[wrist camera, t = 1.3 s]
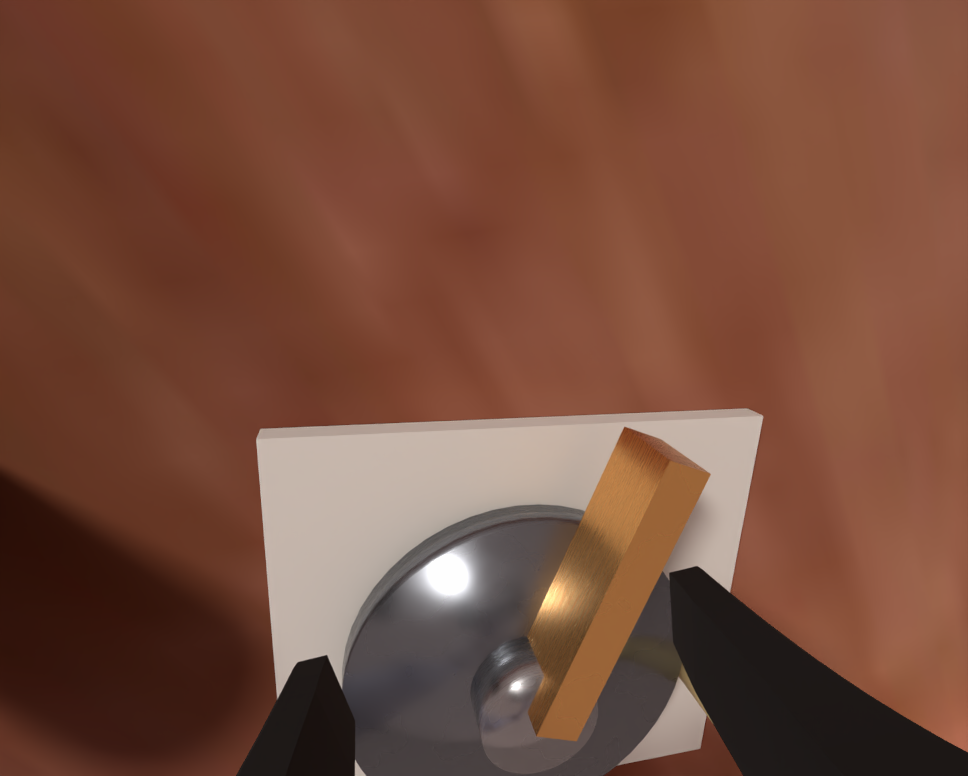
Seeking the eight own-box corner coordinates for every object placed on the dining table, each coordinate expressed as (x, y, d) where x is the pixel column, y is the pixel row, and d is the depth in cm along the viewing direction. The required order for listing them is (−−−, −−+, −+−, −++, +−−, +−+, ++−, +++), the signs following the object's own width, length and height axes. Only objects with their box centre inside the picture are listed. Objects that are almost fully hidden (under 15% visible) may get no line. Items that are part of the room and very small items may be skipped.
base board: (688, 732, 29) (761, 839, 24) (290, 808, 25) (275, 962, 20) (747, 408, 24) (854, 458, 19) (260, 428, 20) (230, 501, 15)
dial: (587, 796, 27) (632, 903, 23) (294, 771, 22) (283, 898, 18) (759, 465, 24) (849, 519, 19) (455, 360, 19) (486, 400, 15)
